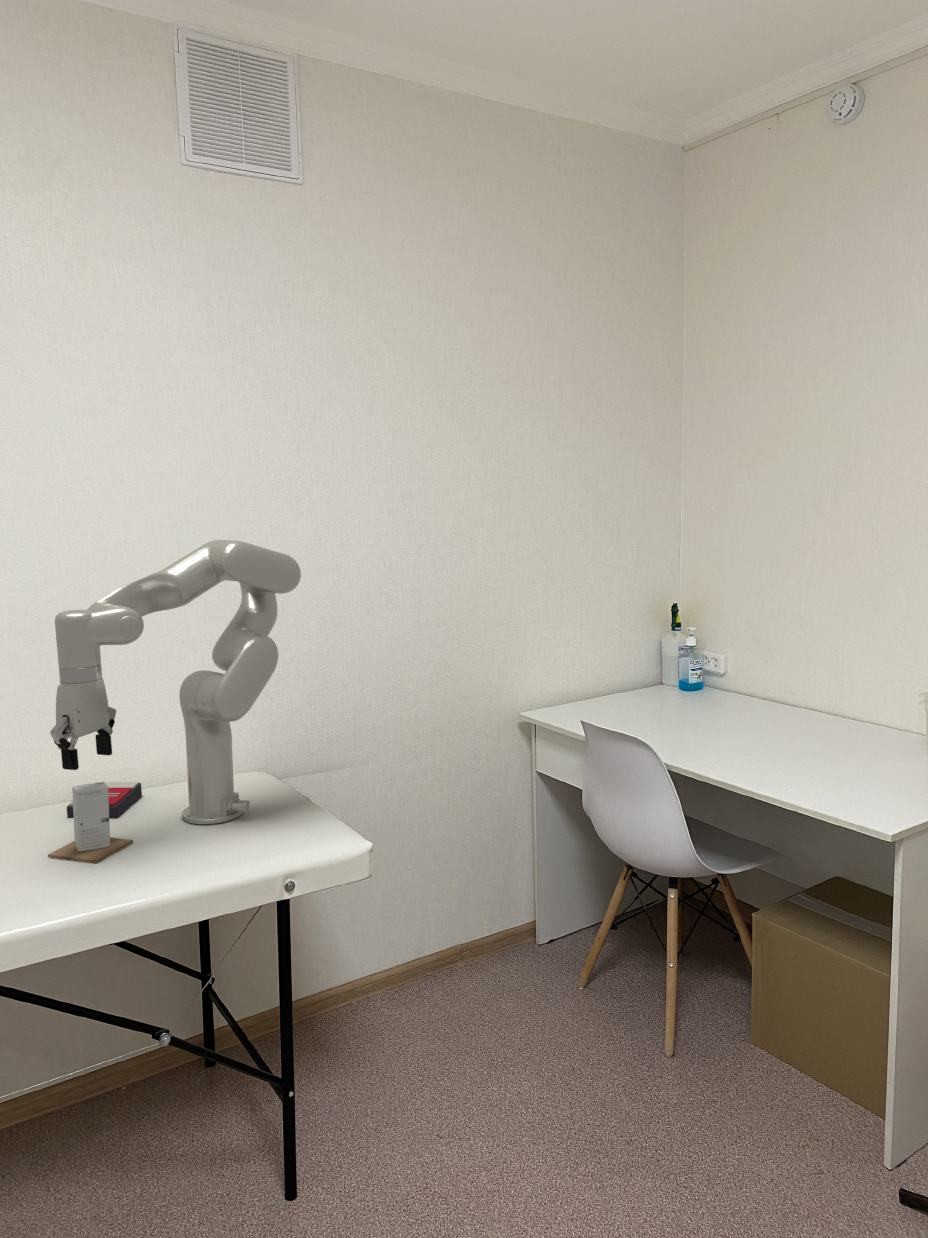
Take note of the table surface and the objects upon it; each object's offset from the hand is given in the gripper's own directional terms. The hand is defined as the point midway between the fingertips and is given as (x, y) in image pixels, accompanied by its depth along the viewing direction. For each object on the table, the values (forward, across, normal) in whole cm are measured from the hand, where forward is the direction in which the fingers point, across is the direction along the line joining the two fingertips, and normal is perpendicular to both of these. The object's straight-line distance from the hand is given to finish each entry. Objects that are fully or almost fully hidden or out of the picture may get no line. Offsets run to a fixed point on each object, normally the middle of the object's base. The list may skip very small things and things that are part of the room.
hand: (88, 761), depth 177 cm
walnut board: (+18, +1, 0) cm, 18 cm away
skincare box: (+17, 0, 0) cm, 17 cm away
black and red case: (+18, -22, -14) cm, 32 cm away
